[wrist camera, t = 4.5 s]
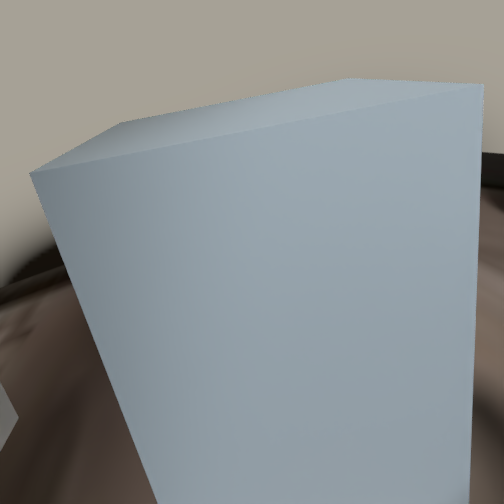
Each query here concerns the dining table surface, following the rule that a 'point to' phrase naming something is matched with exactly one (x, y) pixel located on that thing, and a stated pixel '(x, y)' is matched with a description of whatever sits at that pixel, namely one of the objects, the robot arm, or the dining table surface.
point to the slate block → (286, 289)
